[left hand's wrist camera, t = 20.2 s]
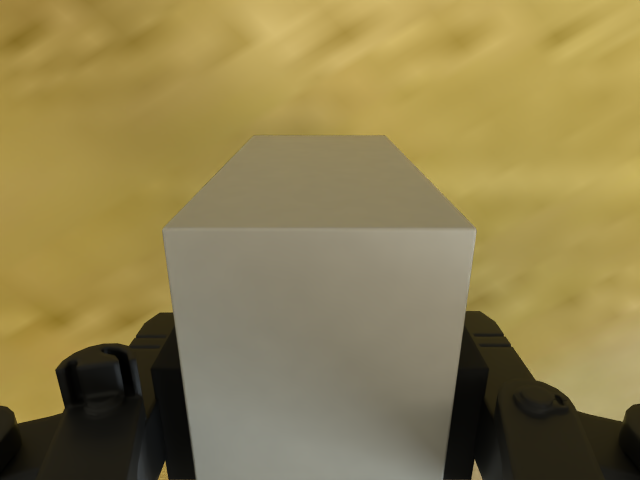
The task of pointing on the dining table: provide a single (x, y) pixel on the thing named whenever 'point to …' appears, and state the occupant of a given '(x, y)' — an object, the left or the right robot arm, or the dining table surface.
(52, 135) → the dining table surface
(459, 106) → the dining table surface
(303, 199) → the brick
